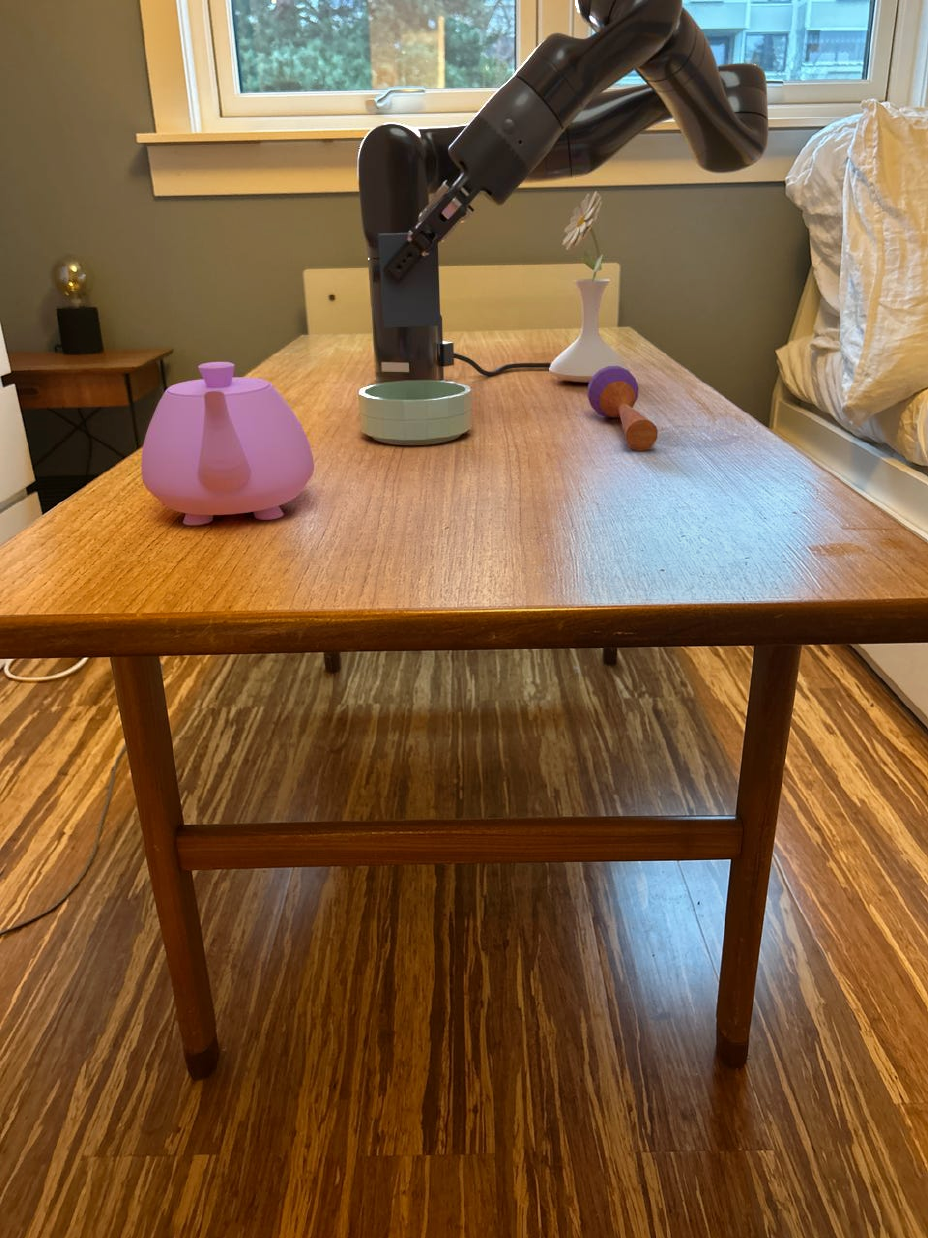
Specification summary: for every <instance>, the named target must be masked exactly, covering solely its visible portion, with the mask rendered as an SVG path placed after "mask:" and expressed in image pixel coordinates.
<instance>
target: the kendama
mask: <svg viewBox="0 0 928 1238" xmlns="http://www.w3.org/2000/svg"><path fill="white" fill-rule="evenodd" d="M586 393H587V394H586V396H587V399H588V402H589V405H590V407H591V408H592V409H593V411H595V413H596V414H598V415H599V416H601V417H604V418H607V419H609V418H611V419H612V418H613V419H614V418H620V421H621V425H622V430H623V434H624V439H625V442H626V444H627V446H628V448H630V449H631V450H634V451H636V452H644V451H647V450H649V449H651V448H652V447H653V446H654V445H655V444H656V442H657V440H658V434H659V430H658V428H657V426H656V425H655V424H654V422H653V421H652V420H650V419H648V418H647V417H646V416H644V415H643V414H641V413H640V412H638V411H637V410H636V409H634V406H635V404H636V402H637V400H638V398H639V385H638V382H637V380H636V377H634V375H633V374H632V373H631V372H630V371H629V369H628V370H627V369H625V368H622V367H620V366H608V367H605V368H603V369H601V370H599V371H598V372H597V373H596V374H595V375H594V376H593V377H592V378H591V381H590V383H588V385H587V392H586Z"/></svg>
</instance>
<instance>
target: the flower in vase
mask: <svg viewBox="0 0 928 1238" xmlns="http://www.w3.org/2000/svg"><path fill="white" fill-rule="evenodd" d="M602 204H603V200H602V196H601V195H600V193H599V192H598V191H597V190H596V191H594V193H593V194H592V196H591V194H590V193H587V194H586V196H585V198H584V199H583V200H582V201H581V204H580V206H576V207H574V210H573V216H571V218H570V224H568V225H566V227H565V229H564V233H565V234H567V235H566V236H565V238H564V239H563V241H562V246H565V250H572V249H574V248H575V247H576V246H579V244H580V243H581V242H582V241H583V240H584V239H585V238H586V237H587V234H588V233H589V232H590V234H591V237H592V239H593V242H594V245H595V250H596V261H594V260H593V259H592V257H590V255H589V254H588V252H587V250H586V251H584V252H583V254H582V256H581V261H582V263H583V264H584V265H585V266H587V267H588V268H589V269H591V270H592V271H593V275H592V278H582V279H581V278H580V279H574V280H573V283H574V284H575V286H576V287H577V289H578V292H579V296H580V300H581V310H582V321H581V323H582V324H581V330H580V332H579V335H578V337H577V338H576V340H575V341H574V342H573V343H571V344H570V345H569V346H568V347H567V348H566V349H564V350H563V351H562V352H561V353H560V354H559V355H558V356H556V357H555V358H554V360H553V361H552V362H550V363H551V365H550V368H548V370H549V373H550V374H551V376H553V377H556V378H557V379H559V380H562V381H567V382H572V383H581V384H582V383H584V384H589V383H590V381H591V378H592V377H593V376H594V375H595V374H596V373H597V372H598V371H599V370H601V369H603V368H605V367H608V366H620V367H622V368H625V369H627V370H628V371H629V367H628V364H627V362H626V361H625V359H623V357H622V356H621V355H619V353H618V352H616V351H615V350H614V349H613V348H612V347H611V346H610V345H609V344H608V343H607V342H606V341H605V340H604V339H603V338H602V337H601V334H600V331H599V330H600V329H599V316H600V315H599V314H600V307H601V306H600V305H601V301H602V298H603V294H604V292H605V289H606V287H607V286H608V285H609V283H610V282H611V280H610V279H607V278H596V277H597V272H598V271H601V270H602V268H603V267H602V261H603V258H604V254H603V253H602V254H601V255H600V247H599V244H598V241H597V237H596V234H595V232H594V229H593V227H592V226H593V225H594V224H595V223H596V221H597V219H598V215H599V213H600V211H601V207H602Z"/></svg>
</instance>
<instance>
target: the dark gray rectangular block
mask: <svg viewBox="0 0 928 1238" xmlns="http://www.w3.org/2000/svg"><path fill="white" fill-rule="evenodd" d="M425 233H426V234H427V235H428V236H429V237H430V238H431V239H432V240H433V238H434V235H433V234H432V233H431V232H425ZM408 234H409V233H387V234H378V241H379V258H380V275H381V292H382V309H383V326H384V327H415V326H440V325H441V323H440V315H441V297H440V295H441V294H440V268H439V266H440V265H439V243H438V244H437V245H436V246H435V249H434V250H433V251H432V252H431V251H430V253H429V254H428V255H427V256H425V257H424V258H423V257H422V256H421V255H420V256H421V257H422V258H421V259H420V261H419V262H418V263H417V264H416V265H415V266H414V267H413V269H412V270H411V271H410V272H409V273H408V274H407V275H406V277H405V278H404V279H403V280H402V281H401V282H400V283H399V284H396V283H394V282H393V281H392V280H391V279H390V278H389V277H388V276H387V275H386V274H385V273H384V271H383V269H384V266H385V265H386V264H387V263H388V261H389V260H390V259H391V258H392V257H393V256H394V254H395V253H396V252H397V251H398V250H399V249H400V248H401V246H402V245H403V244H404V243H405V242H407V241H406V239H407V238H408V237H407V236H408ZM407 243H408V242H407ZM408 244H409V243H408Z"/></svg>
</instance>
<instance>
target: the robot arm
mask: <svg viewBox="0 0 928 1238" xmlns="http://www.w3.org/2000/svg"><path fill="white" fill-rule="evenodd" d="M575 6H576V8H577V12H578V14H579V16H580V18H581V19H582V20H583V22H584V23H585V24H586V25H587V26H588V27H589V28H590V29H591V30H592V31H593V32H595V33H593V34H591V35H590V36H587V37H584V38H583V37H582V38H579V37H574V36H572V35H570V34H569V35H568V34H566V33H563V32H553V33H551V34H549V35H548V36H547V37H546V38H544V40H542V41H541V42H540V43H539V45H538V46H537V47H536V48H535V49H534V50H533V52H531V54H530V55H529V56H528V57H527V59H525V61H524V62H523V63H522V65H521V66H519V68H518V69H517V70H516V71H515V73H514V74H513V75H512V76H511V78H509V80H508V81H507V82H505V83H504V84H503V85H502V86H501V87H500V88H499V89H497V90H496V92H494V93H493V95H492V96H491V97H490V98H489V99H488V101H486V102H485V104H484V105H483V106H482V108H481V109H480V110H479V111H478V112H477V113H476V115H475V116H474V117H473V118H472V119H471V121H469V122H468V123H467V124H460V125H451V126H439V127H438V126H437V127H411V126H408V125H405V124H401V123H398V122H386V123H383V124H379V125H377V126H375V127H374V128H373V129H371V130H370V131H369V132H367V134H366V136H365V137H364V139H363V140H362V142H361V144H360V147H359V148H360V149H359V151H358V157H357V181H358V195H359V205H360V206H359V207H360V216H361V219H360V220H361V227H362V228H361V229H362V232H363V233H362V234H363V237H364V239H365V243H366V248H367V264H368V265H367V266H368V280H369V297H370V298H369V299H370V313H371V316H370V317H371V332H372V334H371V335H372V349H373V350H372V351H373V366H374V367H373V369H374V379H373V380H374V381H373V382H374V384H380V383H385V382H395V381H406V380H437V381H445V370H444V368H445V367H450V366H455V359H456V360H460V361H461V362H462V361H463V362H465V363H467V364H468V365H470V366H471V367H472V368H473V369H474V370H476V372H478V373H479V374H481V375H483V376H486V377H494V376H498V375H500V374H501V373H503V372H504V371H507V370H511V369H522V368H525V369H527V368H528V369H529V368H530V369H531V368H533V369H534V368H538V369H542V368H543V369H549V368H550V365H551V363H552V362H515V363H508V364H504V365H501V366H500V367H498V368H496V369H495V370H493V371H488V370H485V369H483V368H482V367H481V366H480V365H479V364H478V363H477V362H475V361H474V360H473V359H471V358H469V357H468V356H465V355H463V354H459V353H456V352H455V348H454V342H452V341H444V338H443V336H444V335H443V334H444V333H443V315H441V314H440V323H441V325H440V326H415V327H384V326H383V309H382V292H381V275H380V258H379V241H378V234H387V233H409V234H408V236H407V237H408V238H407V239H406V241H407V242H408V243H409V244H408V243H407V242H405V243H404V244H403V245H402V246H401V248H400V249H399V250H398V251H397V252H396V253H395V254H394V256H393V257H392V258H391V259H390V260H389V261H388V263H387V264H386V265H385V266H384V269H383V271H384V273H385V274H386V275H387V276H388V277H389V278H390V279H391V280H392V281H393V282H394V283H396V284H399V283H400V282H401V281H402V280H403V279H404V278H405V277H406V275H407V274H408V273H409V272H410V271H411V270H412V269H413V267H414V266H415V265H416V264H417V263H418V262H419V261H420V259H421V258H422V257H423V258H424V257H425V256H427V255H428V254H429V253H430V251H431V252H432V251H433V250H434V249H435V246H436V245H437V244H438V245H439V243H442V242H445V241H446V240H447V239H448V238H449V237H450V236H451V235H452V234H453V232H454V231H455V230H456V229H457V227H458V226H459V225H460V224H461V223H464V222H466V221H467V220H468V219H469V218H470V216H471V215H472V214H473V213H474V212H475V209H474V208H473V207H472V205H470V204H472V202H473V201H474V199H475V198H476V197H477V196H478V195H479V194H480V193H481V194H483V195H484V197H486V198H487V200H489V201H490V202H491V203H492V204H494V205H495V206H499V207H500V206H503V205H504V204H505V203H506V201H507V200H508V199H509V198H510V197H511V196H512V195H513V193H514V192H515V191H516V190H517V189H518V188H519V187H520V186H521V184H535V183H536V184H537V183H545V182H555V181H560V180H569V179H573V178H575V179H576V178H581V177H584V176H588V175H589V174H592V173H593V172H595V171H596V170H598V169H599V168H601V167H602V166H603V165H604V164H606V163H607V162H608V161H610V160H611V159H612V158H613V157H615V156H616V155H617V154H618V153H619V152H620V151H621V150H622V149H624V147H626V146H627V145H628V144H629V143H630V142H631V141H632V140H634V139H635V138H636V137H638V136H639V135H640V134H642V133H643V132H645V131H647V130H648V129H649V128H652V127H653V126H655V125H657V124H660V123H663V122H666V121H669V120H672V119H673V120H674V121H675V123H676V125H677V127H678V129H679V131H680V132H681V135H682V137H683V138H684V140H685V142H686V144H687V146H688V148H689V151H690V153H691V155H692V157H693V159H694V162H695V163H696V164H697V166H698V167H700V168H701V169H702V170H703V171H706V172H710V173H713V174H730V173H734V172H735V173H736V172H739V171H742V170H745V169H747V168H749V167H751V166H753V165H754V164H756V163H757V162H758V161H760V160H761V158H762V157H763V155H764V154H765V152H766V150H767V146H768V143H769V142H768V141H769V130H770V129H769V111H768V110H769V109H768V87H767V85H768V84H767V78H766V77H767V76H766V73H765V71H764V70H763V69H762V67H760V66H759V65H757V64H755V63H747V62H738V63H737V62H735V63H728V64H727V63H726V64H721V65H718V63H717V60H716V57H715V54H714V52H713V50H712V47H711V44H710V41H709V39H708V38H707V37H706V35H705V33H704V32H703V30H702V28H701V27H700V26H699V24H698V23H697V22H696V20H695V19H694V17H693V16H692V15H691V14H690V12H689V11H688V10H687V9H686V8H685V7H684V6H683V0H575ZM634 71H635V73H636V74H637V75H638V76H639V77H640V78H641V79H642V80H643V81H644V82H645V83H646V84H641V85H635V86H631V87H625V88H620V89H614V90H609V91H608V89H609V88H611V87H612V86H614V85H615V84H617V82H619V81H620V80H622V79H623V78H625V77H626V76H628V75H629V74H631V73H633V72H634ZM606 90H607V91H606ZM431 196H434V197H433V198H432V200H430V197H431ZM425 232H431V233H432V234H433V235H434V238H433V240H432V239H431V238H430V237H429V236H428V235H427V234H426V233H425ZM420 255H421V256H422V257H421V256H420Z"/></svg>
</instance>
